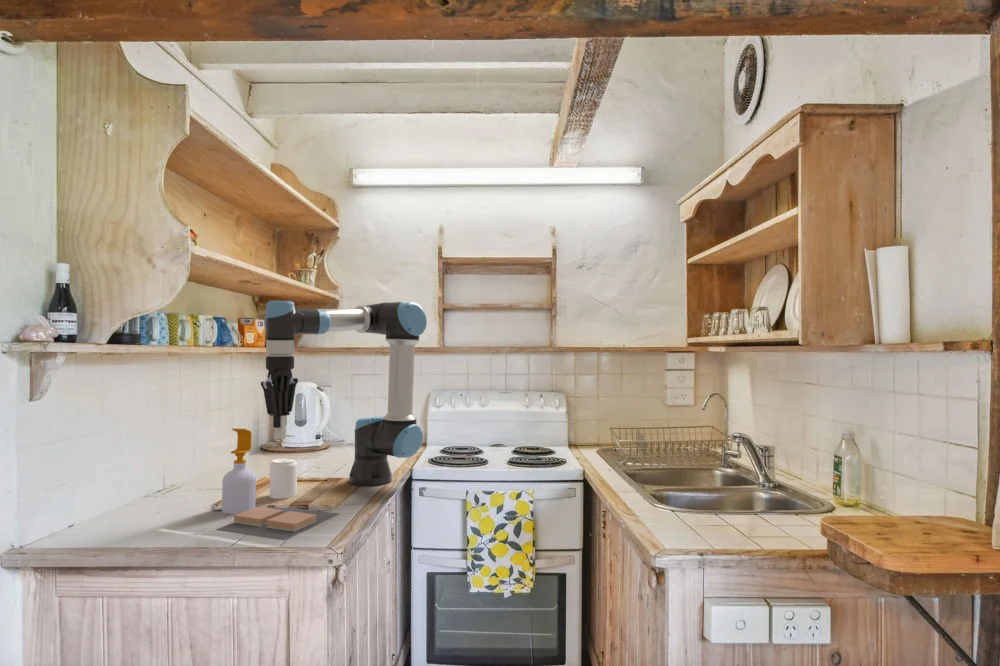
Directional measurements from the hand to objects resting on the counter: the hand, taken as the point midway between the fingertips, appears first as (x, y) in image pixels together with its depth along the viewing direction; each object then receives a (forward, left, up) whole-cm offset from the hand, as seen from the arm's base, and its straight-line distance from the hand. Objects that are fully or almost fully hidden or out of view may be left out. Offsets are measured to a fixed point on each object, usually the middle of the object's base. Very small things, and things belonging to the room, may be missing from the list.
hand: (279, 438), depth 165 cm
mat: (+3, +3, -23) cm, 23 cm away
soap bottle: (-2, -16, -23) cm, 28 cm away
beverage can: (-19, -14, -23) cm, 33 cm away
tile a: (0, +8, -21) cm, 23 cm away
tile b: (0, -3, -21) cm, 21 cm away
